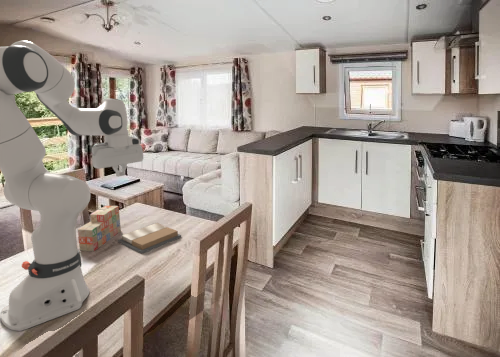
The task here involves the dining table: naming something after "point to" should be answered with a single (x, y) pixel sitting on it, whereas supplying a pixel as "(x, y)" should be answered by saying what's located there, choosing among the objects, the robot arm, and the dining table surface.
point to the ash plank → (142, 232)
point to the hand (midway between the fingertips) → (120, 175)
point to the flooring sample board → (152, 240)
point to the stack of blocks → (99, 228)
